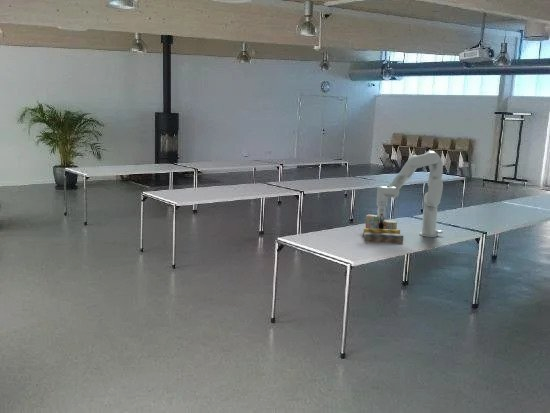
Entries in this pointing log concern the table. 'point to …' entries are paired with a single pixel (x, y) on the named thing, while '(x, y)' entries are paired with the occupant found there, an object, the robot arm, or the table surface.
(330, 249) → the table surface
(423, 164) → the robot arm
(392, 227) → the stack of blocks
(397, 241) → the dock
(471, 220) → the table surface
